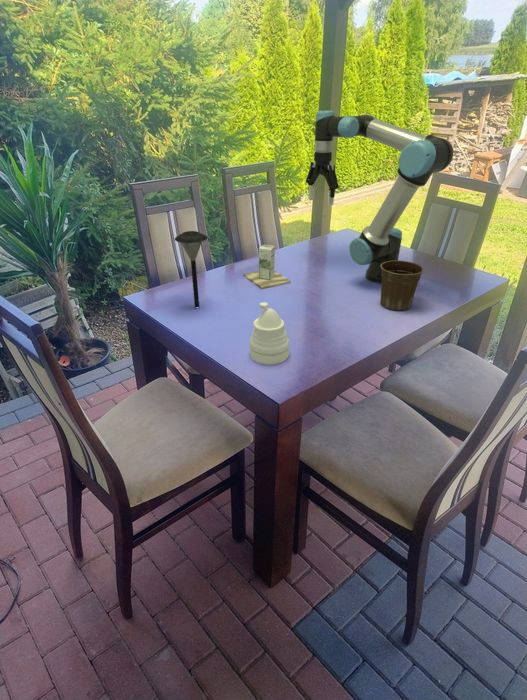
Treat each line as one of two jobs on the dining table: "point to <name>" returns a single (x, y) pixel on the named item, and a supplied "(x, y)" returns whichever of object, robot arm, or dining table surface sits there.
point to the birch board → (265, 283)
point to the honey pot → (269, 338)
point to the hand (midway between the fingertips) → (320, 202)
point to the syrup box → (266, 262)
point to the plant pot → (399, 284)
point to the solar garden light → (192, 254)
